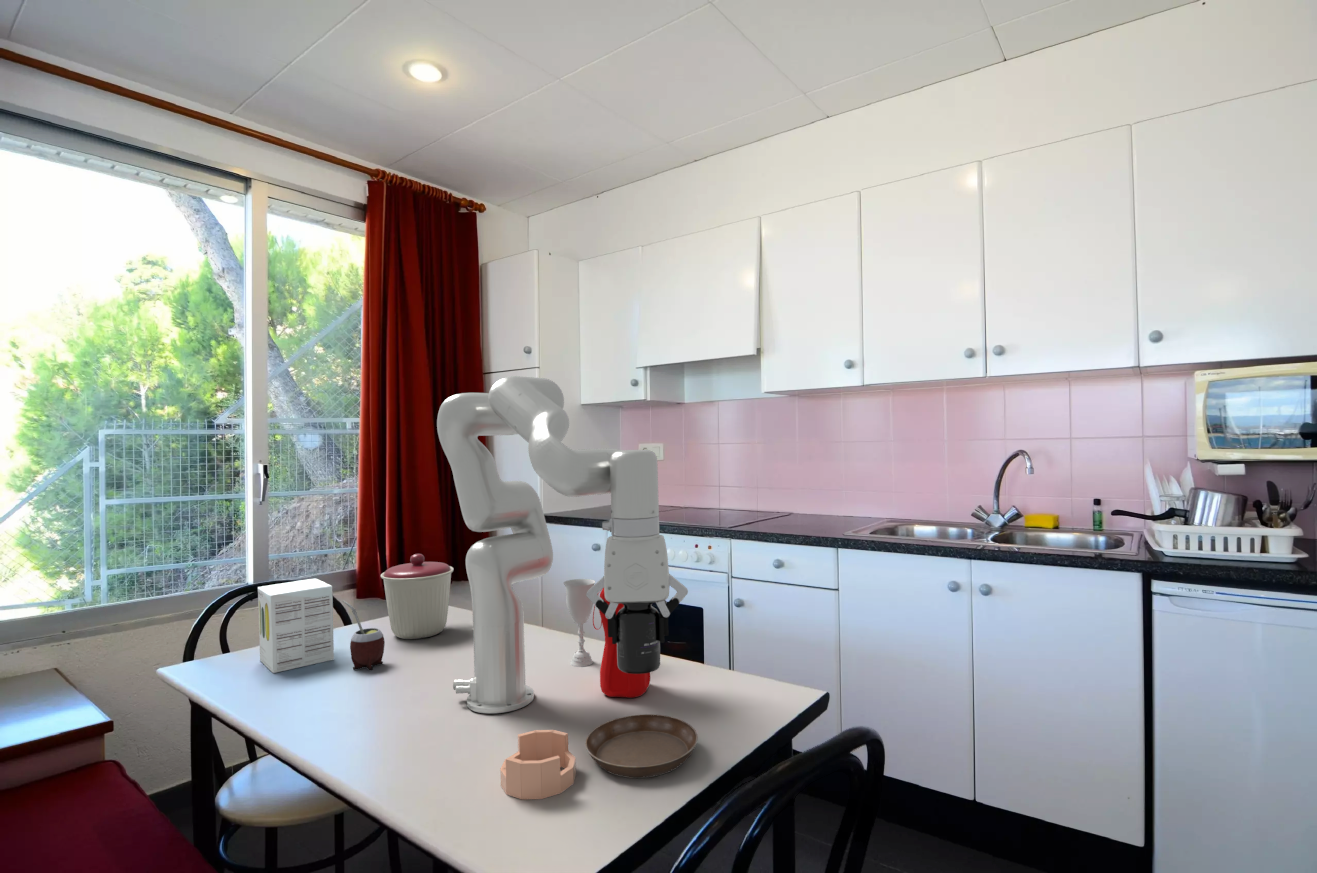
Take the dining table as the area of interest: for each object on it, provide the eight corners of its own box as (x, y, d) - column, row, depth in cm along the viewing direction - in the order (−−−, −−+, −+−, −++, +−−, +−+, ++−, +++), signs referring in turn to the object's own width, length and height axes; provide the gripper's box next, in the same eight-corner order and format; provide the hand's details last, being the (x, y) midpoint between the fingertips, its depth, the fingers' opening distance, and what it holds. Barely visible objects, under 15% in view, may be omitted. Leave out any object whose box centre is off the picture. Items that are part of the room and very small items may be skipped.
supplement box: (258, 660, 157) (256, 586, 157) (318, 647, 166) (316, 577, 166) (272, 674, 148) (269, 595, 148) (335, 659, 156) (333, 585, 156)
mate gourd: (388, 667, 150) (386, 600, 150) (349, 675, 145) (347, 606, 145) (380, 658, 156) (378, 594, 156) (343, 666, 152) (342, 600, 152)
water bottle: (601, 680, 138) (598, 559, 138) (653, 683, 136) (649, 560, 136) (587, 698, 129) (584, 568, 129) (643, 701, 127) (639, 569, 127)
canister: (367, 643, 168) (365, 560, 168) (406, 623, 186) (404, 548, 186) (434, 645, 165) (432, 560, 165) (467, 624, 183) (464, 548, 183)
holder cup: (493, 800, 93) (492, 764, 93) (511, 763, 104) (510, 730, 104) (569, 798, 93) (568, 762, 93) (579, 761, 104) (578, 729, 104)
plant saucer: (608, 797, 94) (607, 775, 94) (572, 745, 110) (571, 727, 110) (718, 768, 101) (718, 748, 101) (669, 723, 117) (669, 706, 117)
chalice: (604, 660, 150) (601, 580, 150) (585, 670, 145) (582, 587, 145) (578, 655, 154) (576, 577, 154) (559, 664, 148) (556, 583, 148)
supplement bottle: (656, 676, 101) (653, 596, 101) (612, 674, 102) (610, 596, 103) (664, 661, 108) (662, 587, 108) (623, 660, 109) (621, 586, 109)
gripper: (577, 533, 102) (580, 650, 102) (691, 529, 101) (694, 647, 101) (583, 526, 109) (586, 635, 109) (689, 523, 109) (692, 632, 109)
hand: (638, 640), depth 105 cm, fingers closed on supplement bottle, 6 cm apart
